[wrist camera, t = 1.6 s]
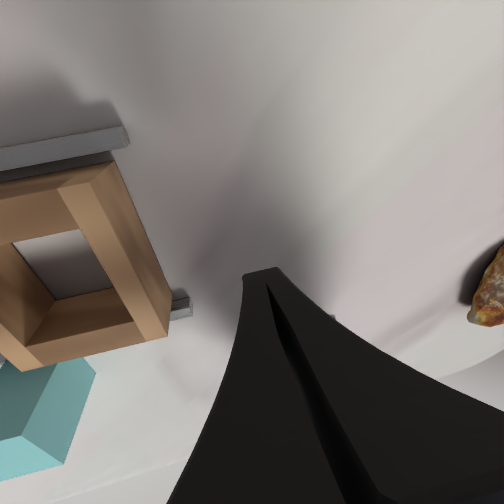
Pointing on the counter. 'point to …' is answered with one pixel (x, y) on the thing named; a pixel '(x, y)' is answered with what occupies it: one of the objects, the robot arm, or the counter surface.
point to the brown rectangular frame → (106, 250)
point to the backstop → (74, 148)
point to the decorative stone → (490, 295)
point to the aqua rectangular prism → (40, 414)
